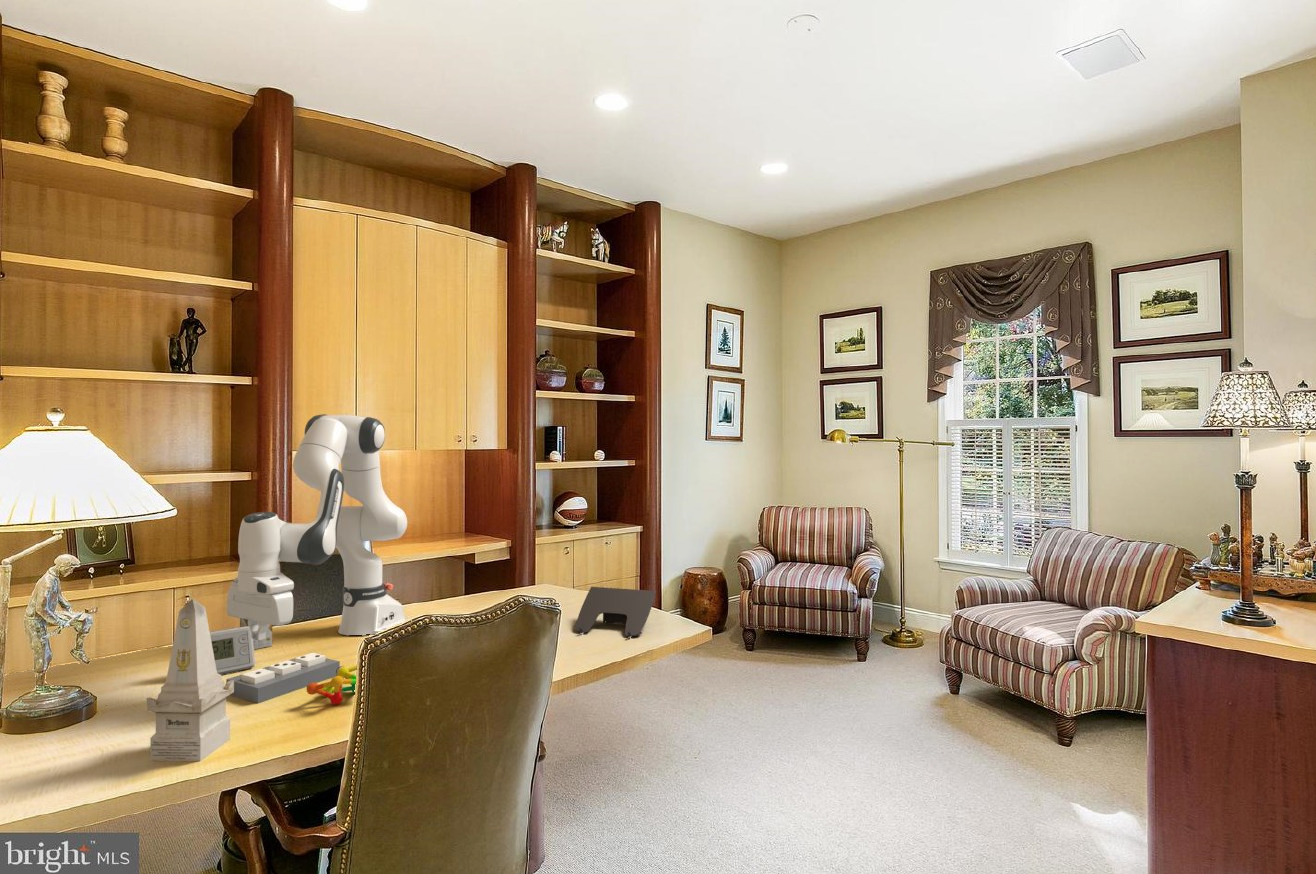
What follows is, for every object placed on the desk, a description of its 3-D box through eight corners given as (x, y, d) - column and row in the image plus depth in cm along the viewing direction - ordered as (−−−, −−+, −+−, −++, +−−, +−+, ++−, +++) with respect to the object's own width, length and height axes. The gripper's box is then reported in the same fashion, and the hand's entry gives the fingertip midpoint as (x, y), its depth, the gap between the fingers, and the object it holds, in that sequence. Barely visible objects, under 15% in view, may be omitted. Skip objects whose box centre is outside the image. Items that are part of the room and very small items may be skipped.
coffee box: (273, 646, 208) (273, 591, 208) (249, 651, 203) (249, 594, 203) (262, 639, 214) (262, 585, 214) (238, 644, 209) (238, 589, 209)
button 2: (287, 672, 181) (288, 659, 181) (300, 675, 179) (301, 662, 179) (269, 678, 177) (269, 665, 177) (282, 681, 174) (282, 668, 174)
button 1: (261, 680, 175) (261, 667, 175) (274, 684, 173) (274, 671, 173) (241, 687, 170) (241, 673, 170) (254, 690, 168) (254, 677, 168)
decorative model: (293, 688, 165) (341, 652, 178) (308, 721, 166) (355, 684, 179) (333, 682, 159) (379, 646, 173) (348, 717, 161) (393, 679, 174)
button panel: (308, 667, 190) (308, 654, 190) (339, 674, 185) (339, 661, 185) (226, 693, 171) (226, 679, 171) (258, 703, 165) (258, 688, 165)
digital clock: (180, 683, 177) (181, 641, 177) (181, 673, 185) (181, 631, 185) (255, 672, 186) (256, 631, 186) (253, 662, 194) (254, 623, 193)
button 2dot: (312, 664, 187) (312, 652, 187) (325, 667, 185) (325, 655, 185) (295, 669, 183) (295, 657, 183) (308, 673, 181) (308, 660, 181)
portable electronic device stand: (573, 650, 227) (568, 628, 223) (593, 602, 247) (590, 581, 243) (643, 656, 222) (640, 633, 218) (658, 607, 242) (656, 585, 238)
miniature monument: (146, 761, 136) (147, 604, 136) (182, 738, 147) (183, 592, 146) (201, 762, 136) (202, 605, 136) (233, 738, 147) (234, 592, 146)
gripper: (219, 578, 173) (218, 636, 173) (273, 588, 164) (273, 648, 164) (244, 574, 179) (244, 630, 179) (298, 583, 169) (298, 641, 169)
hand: (258, 639), depth 171 cm, fingers closed
